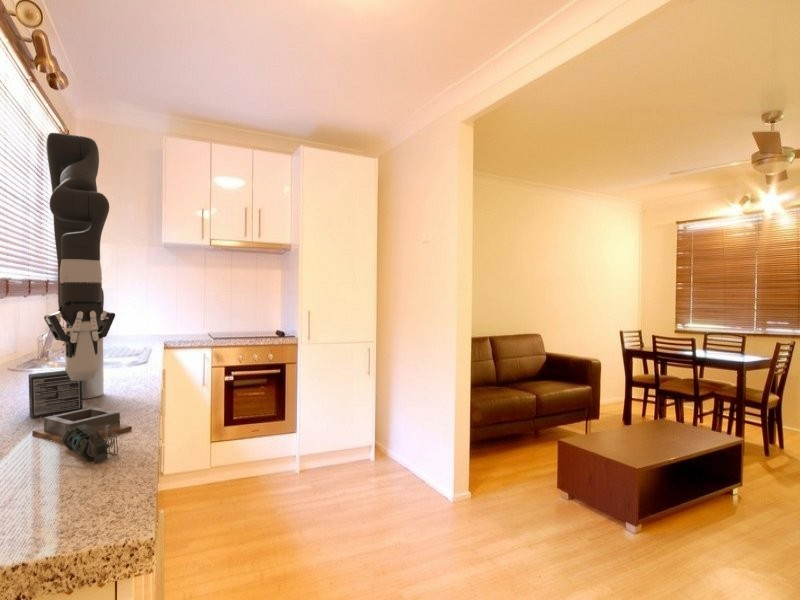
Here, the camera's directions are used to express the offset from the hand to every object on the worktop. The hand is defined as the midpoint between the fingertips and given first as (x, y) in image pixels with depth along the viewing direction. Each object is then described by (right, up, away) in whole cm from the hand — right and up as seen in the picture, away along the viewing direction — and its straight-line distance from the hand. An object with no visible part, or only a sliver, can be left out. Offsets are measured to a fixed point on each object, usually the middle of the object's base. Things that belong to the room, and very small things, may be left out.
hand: (81, 358), depth 98 cm
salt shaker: (0, -5, 0) cm, 5 cm away
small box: (-19, -16, +17) cm, 30 cm away
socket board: (0, -17, 0) cm, 17 cm away
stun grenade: (+11, -17, -12) cm, 24 cm away
